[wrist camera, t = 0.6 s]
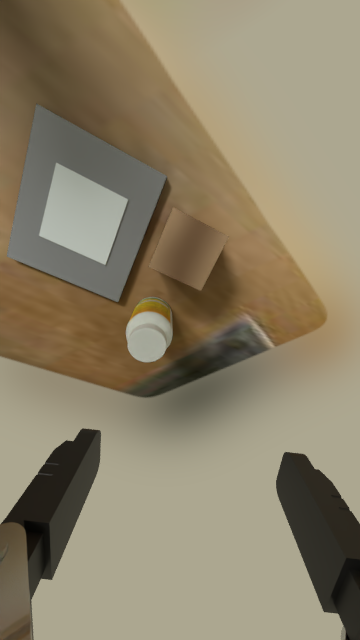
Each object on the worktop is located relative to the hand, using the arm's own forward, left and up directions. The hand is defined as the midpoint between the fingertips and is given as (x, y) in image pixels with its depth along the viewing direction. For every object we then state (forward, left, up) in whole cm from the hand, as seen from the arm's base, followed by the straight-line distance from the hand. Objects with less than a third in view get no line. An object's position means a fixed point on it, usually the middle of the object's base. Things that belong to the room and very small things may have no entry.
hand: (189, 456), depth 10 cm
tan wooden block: (-2, +7, -23) cm, 24 cm away
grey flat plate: (-14, +5, -23) cm, 28 cm away
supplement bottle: (-2, -3, -23) cm, 24 cm away
